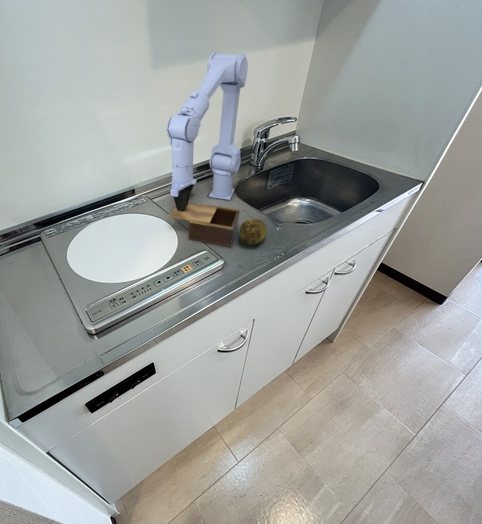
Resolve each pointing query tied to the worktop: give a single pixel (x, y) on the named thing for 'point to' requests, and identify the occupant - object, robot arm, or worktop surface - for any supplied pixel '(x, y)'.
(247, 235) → the potato
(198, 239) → the box
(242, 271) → the worktop surface
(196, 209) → the sliding lid
